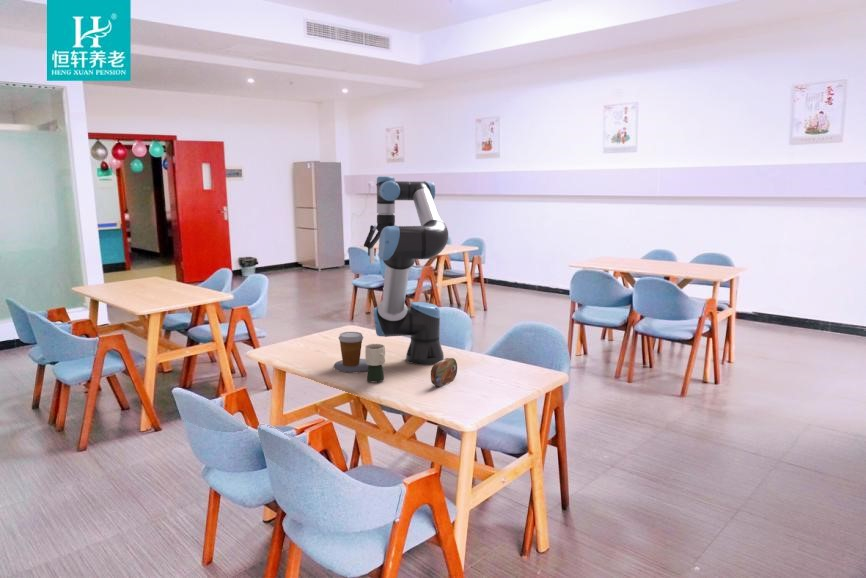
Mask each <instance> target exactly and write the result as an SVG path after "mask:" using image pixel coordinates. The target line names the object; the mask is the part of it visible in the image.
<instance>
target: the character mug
mask: <svg viewBox="0 0 866 578" xmlns="http://www.w3.org/2000/svg"><path fill="white" fill-rule="evenodd" d="M364 353H365V359H366V364H367V365H369V366H368V371H366V381H367V382H370V383H376V382H377V383H379V382H383V381H384V380H385V373H384V368H383V366H382V365H384V364H385V362H386V346H385V345H384V344H383V343H371V344H370V343H369V344H367V345H365V352H364Z"/></svg>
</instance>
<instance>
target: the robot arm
mask: <svg viewBox="0 0 866 578" xmlns="http://www.w3.org/2000/svg"><path fill="white" fill-rule="evenodd" d="M375 184H376V185H375V186H376V224H377V225H376V224H373V225H372V224H371V225H370V227H369V232H368V234H367V237H366V239H365V242H364V244H363V247H364V248H365V247H366V248H367V255H368V257H369V265H373V264H374V265H375V248H374V246H375V245H376V244H377V242H378V256H379V258H380V260H382V262H383V264H384V265H385V272H384V281H383V282H384V283H383V290H382V300H381V301H380V302H379V304H378V306H376V307H374V308H373V318H374V320H373V321H374V327H375V334H376V335H377V336H378V337H385V338H386V337H402V336H403V337H404V336H406V337H407V336H409V337H410V342H409V345H408V347H407V351H406V358H405V359H406V361H407V362H408V363H410V364H415V365H421V366H422V365H423V366H424V365H425V366H428V365H429V366H430V365H434V364H435V363H437V362H439V361H441V360H443V359H445V358H444V357H445V356H444V352H443V349H442V348H443V347H442V345H441V341H440V330H441V329H440V324H441V321H440V320H441V314H440V307H439V306H438V305H436V304H433V303H430V302H423V301H413V302H411V303H410V305H409V306H407V305H406V303H405V301H406V295H407V289H408V283H409V282H408V280H409V275H410V268H412V267H413V266H414V264H415V262H416V260H429V259H432V258H435V257H436V256H438V255H439V254H441V253H442V252H443V250H444V249H445V248H446V246H447V244H448V240H449V229H448V227H447V224H446V223H445V222H444V221H443V220H442V219H441V217H440V214H439V212H438V209H437V206H436V203H435V201H434V200H435V197H436V185H435V183H434V182H432V181H425V180H423V181H403V180H402V181H400V180H395V177H394V176H378V177H377V178H376V183H375ZM396 201H413V205H414V207H415V209H416V213H417V216H418V219H419V223H420V225H404V226H403V225H396V224H395V223H396V215H395V213H396ZM376 230H377V232H376ZM375 232H376V233H375ZM374 235H375V236H374Z"/></svg>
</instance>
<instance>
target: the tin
mask: <svg viewBox="0 0 866 578" xmlns="http://www.w3.org/2000/svg"><path fill="white" fill-rule="evenodd" d="M457 374H458V363H457V361H456V359H455V358H453V357H445V358H444V359H443V360H441V361H439V362H437V363H435V364H432V367H431V369H430V381H431V383H432V385H433V386H436V387H440V388H441V387H444V386H445V385H447V384H448V383H449V384H450V383H451V382H453V380H455V378H456V377H457Z"/></svg>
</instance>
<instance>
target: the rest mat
mask: <svg viewBox="0 0 866 578" xmlns="http://www.w3.org/2000/svg"><path fill="white" fill-rule="evenodd" d="M368 366H369V365H367V364H366V358H360V361H359V365H357V366H351V367H349V366H344V365H343V361H342V360H339V361H336V362H334V364H333V369H334V368H335V369H334V370H335V371H337V370H338V372H341V373H346V374H347V373H349V374H351V373H352V374H354V373H353V372H358V373H364V372H367V371H368Z"/></svg>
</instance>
